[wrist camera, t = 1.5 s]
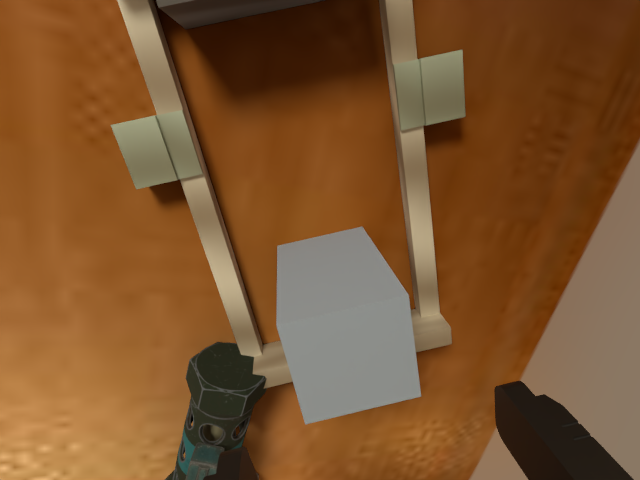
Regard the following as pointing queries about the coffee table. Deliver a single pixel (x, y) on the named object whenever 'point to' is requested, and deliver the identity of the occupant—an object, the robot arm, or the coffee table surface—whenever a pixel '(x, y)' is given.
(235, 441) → the stun grenade
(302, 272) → the grey rectangular block
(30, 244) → the coffee table surface
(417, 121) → the beam frame
